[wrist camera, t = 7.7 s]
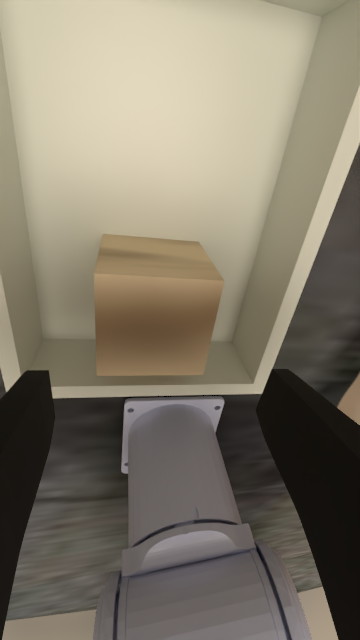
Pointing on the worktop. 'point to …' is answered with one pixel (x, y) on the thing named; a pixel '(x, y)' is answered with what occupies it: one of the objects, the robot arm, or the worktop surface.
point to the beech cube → (154, 306)
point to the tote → (168, 168)
